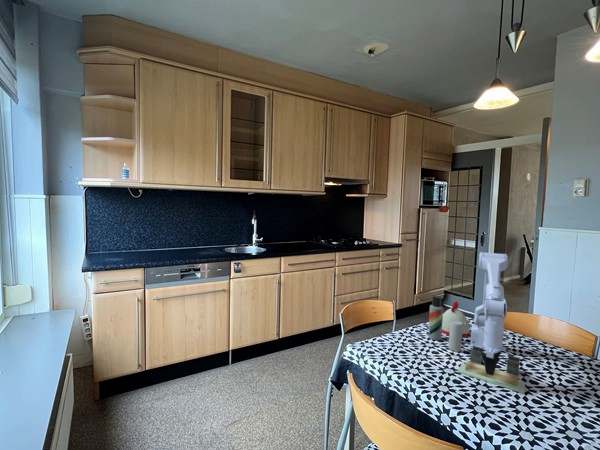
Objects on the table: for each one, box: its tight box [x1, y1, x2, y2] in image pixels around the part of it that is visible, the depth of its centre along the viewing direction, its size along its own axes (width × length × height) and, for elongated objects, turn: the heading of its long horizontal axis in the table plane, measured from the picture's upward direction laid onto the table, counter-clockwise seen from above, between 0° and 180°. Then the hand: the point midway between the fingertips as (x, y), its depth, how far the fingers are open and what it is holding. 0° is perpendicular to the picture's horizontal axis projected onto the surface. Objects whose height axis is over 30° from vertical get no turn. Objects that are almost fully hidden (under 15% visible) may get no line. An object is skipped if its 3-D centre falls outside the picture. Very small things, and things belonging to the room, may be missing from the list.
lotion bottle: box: [427, 295, 444, 341], centre depth 144 cm, size 6×6×20 cm
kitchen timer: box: [442, 300, 471, 338], centre depth 152 cm, size 14×14×15 cm
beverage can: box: [448, 321, 463, 353], centre depth 132 cm, size 5×5×12 cm
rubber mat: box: [457, 362, 526, 394], centre depth 111 cm, size 20×8×1 cm, turn 52°
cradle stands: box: [469, 346, 521, 376], centre depth 118 cm, size 16×5×5 cm, turn 52°
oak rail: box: [465, 360, 520, 387], centre depth 111 cm, size 16×3×2 cm, turn 52°
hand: (491, 370), depth 111 cm, fingers open, 7 cm apart
